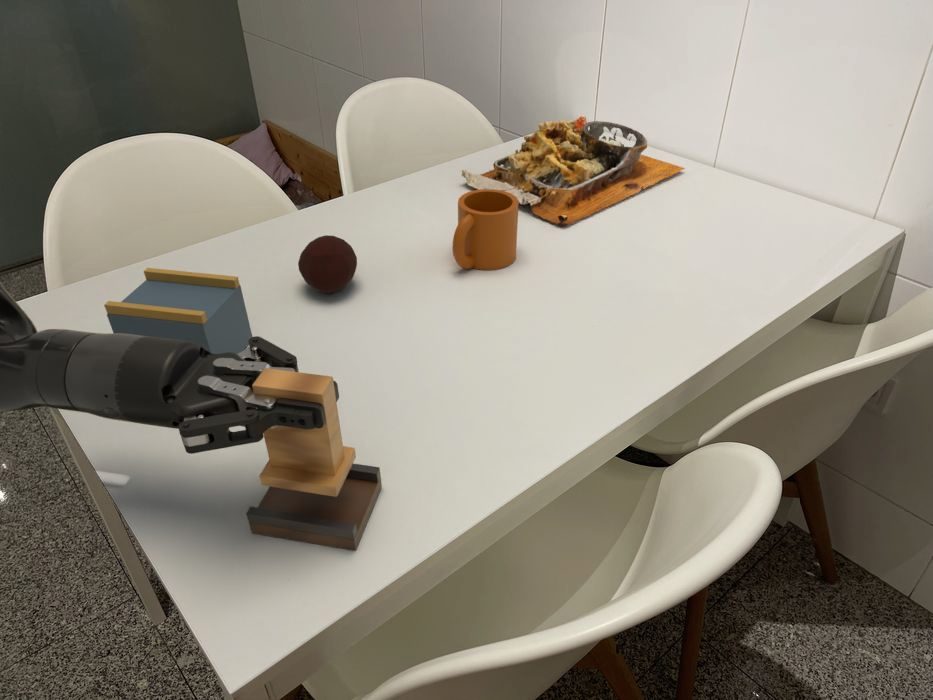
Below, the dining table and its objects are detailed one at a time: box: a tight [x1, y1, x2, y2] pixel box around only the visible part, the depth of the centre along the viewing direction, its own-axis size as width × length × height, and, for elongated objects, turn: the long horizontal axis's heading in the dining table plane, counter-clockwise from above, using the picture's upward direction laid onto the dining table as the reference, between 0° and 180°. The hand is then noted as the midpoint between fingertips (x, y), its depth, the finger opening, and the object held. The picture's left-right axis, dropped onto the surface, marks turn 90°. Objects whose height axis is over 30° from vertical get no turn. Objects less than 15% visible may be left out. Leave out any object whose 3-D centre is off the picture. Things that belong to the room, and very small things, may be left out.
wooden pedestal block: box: [252, 368, 357, 497], centre depth 59 cm, size 7×5×10 cm
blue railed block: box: [104, 267, 253, 354], centre depth 84 cm, size 12×9×9 cm
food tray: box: [461, 115, 687, 227], centre depth 127 cm, size 35×26×11 cm
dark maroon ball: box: [297, 235, 358, 294], centre depth 97 cm, size 8×9×8 cm
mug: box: [452, 189, 520, 271], centre depth 102 cm, size 9×12×9 cm
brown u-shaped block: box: [245, 463, 383, 551], centre depth 65 cm, size 10×8×3 cm
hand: (329, 404), depth 57 cm, fingers closed on wooden pedestal block, 2 cm apart
